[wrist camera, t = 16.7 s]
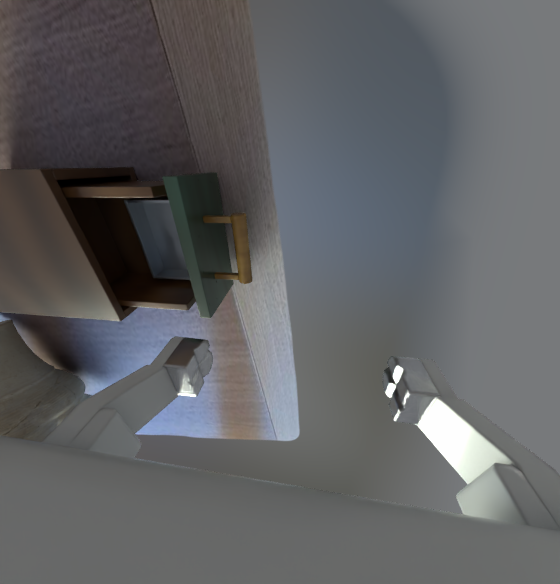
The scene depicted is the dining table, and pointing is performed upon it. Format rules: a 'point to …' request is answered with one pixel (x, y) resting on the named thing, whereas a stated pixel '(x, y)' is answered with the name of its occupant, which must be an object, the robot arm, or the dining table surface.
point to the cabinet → (51, 247)
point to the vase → (32, 390)
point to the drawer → (191, 230)
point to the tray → (158, 237)
